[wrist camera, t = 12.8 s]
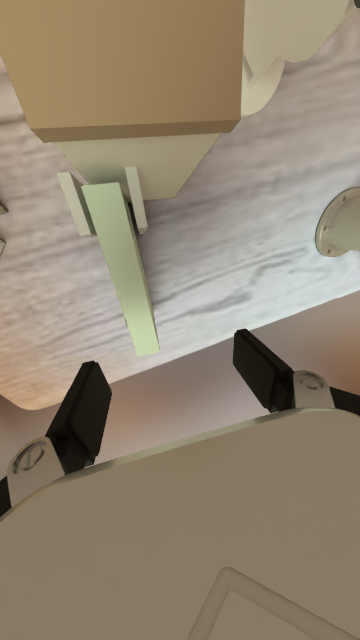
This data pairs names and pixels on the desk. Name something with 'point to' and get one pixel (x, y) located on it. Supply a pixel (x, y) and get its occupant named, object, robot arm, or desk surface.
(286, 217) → the desk surface
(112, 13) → the cabinet
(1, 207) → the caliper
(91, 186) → the door
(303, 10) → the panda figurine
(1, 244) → the skincare box
